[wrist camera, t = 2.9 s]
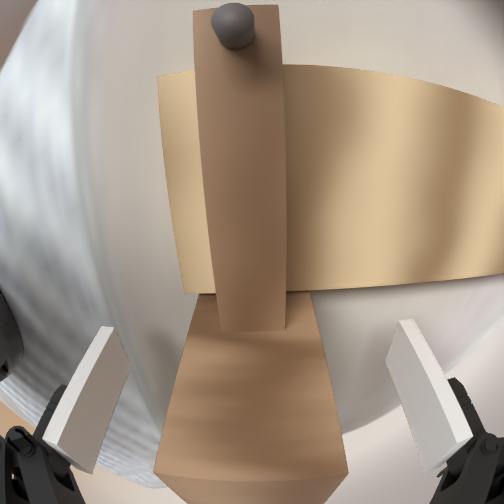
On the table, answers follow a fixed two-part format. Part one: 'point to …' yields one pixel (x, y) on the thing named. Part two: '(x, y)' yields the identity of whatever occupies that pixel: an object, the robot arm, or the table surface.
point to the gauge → (248, 296)
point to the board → (359, 180)
